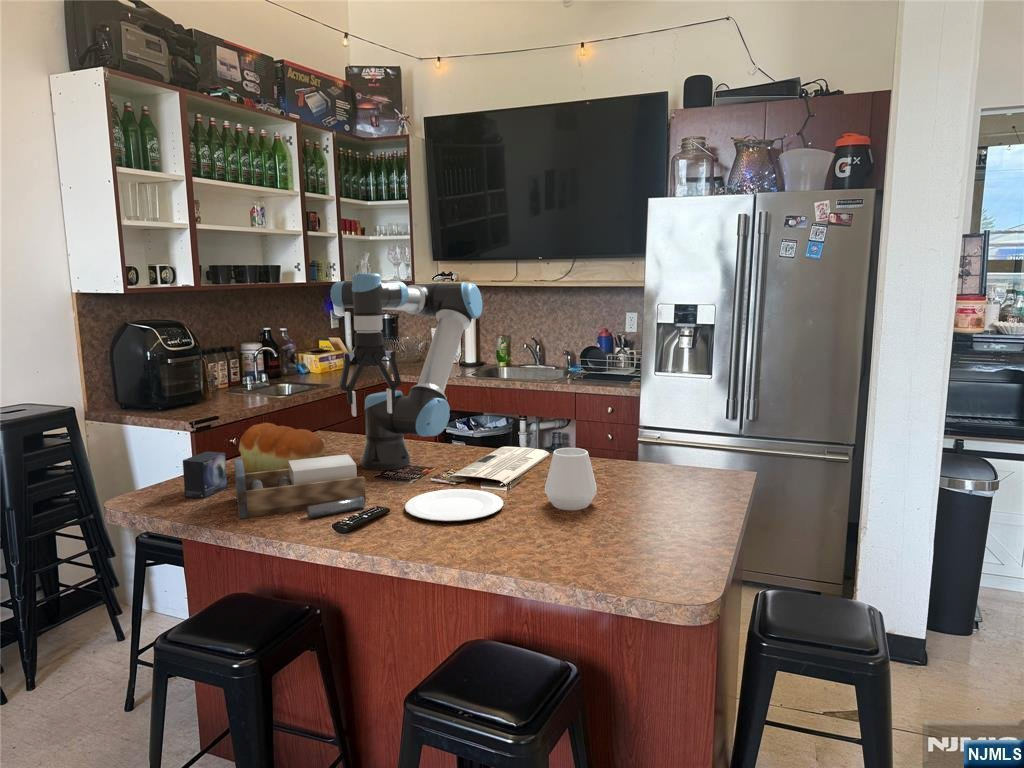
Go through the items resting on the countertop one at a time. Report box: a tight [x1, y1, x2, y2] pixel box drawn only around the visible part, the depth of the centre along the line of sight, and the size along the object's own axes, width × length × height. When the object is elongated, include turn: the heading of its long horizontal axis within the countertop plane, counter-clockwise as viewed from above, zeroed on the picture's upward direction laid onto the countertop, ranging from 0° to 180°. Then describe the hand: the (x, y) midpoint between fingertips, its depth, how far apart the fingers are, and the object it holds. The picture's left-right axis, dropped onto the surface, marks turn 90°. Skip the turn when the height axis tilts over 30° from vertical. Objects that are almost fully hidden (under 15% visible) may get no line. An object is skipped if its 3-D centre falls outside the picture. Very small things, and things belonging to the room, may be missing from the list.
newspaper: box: [448, 446, 550, 486], centre depth 212 cm, size 37×19×3 cm, turn 157°
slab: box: [288, 453, 358, 485], centre depth 185 cm, size 16×12×4 cm
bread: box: [238, 422, 327, 473], centre depth 206 cm, size 25×12×15 cm, turn 54°
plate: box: [404, 488, 504, 523], centre depth 175 cm, size 25×25×2 cm
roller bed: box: [233, 458, 367, 519], centre depth 183 cm, size 31×18×10 cm, turn 113°
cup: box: [544, 447, 598, 511], centre depth 176 cm, size 13×13×14 cm
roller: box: [306, 496, 366, 519], centre depth 172 cm, size 14×3×3 cm, turn 123°
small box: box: [182, 450, 228, 499], centre depth 190 cm, size 11×6×10 cm, turn 168°
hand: (372, 414), depth 188 cm, fingers open, 9 cm apart
